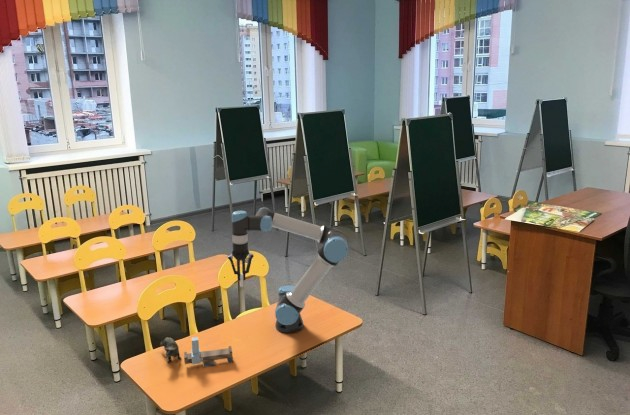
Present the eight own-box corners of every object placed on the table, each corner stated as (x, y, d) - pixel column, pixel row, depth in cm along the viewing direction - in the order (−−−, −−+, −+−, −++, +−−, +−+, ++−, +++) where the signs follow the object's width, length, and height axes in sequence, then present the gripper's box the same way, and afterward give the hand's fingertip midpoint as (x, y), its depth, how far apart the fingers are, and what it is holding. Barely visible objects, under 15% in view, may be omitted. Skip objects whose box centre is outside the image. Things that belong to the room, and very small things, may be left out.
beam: (231, 357, 243) (231, 345, 241) (233, 363, 238) (232, 351, 236) (184, 364, 237) (184, 351, 235) (185, 370, 232) (184, 357, 231)
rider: (200, 354, 239) (198, 334, 236) (200, 363, 232) (199, 342, 229) (191, 355, 238) (190, 335, 235) (192, 364, 231) (190, 343, 228)
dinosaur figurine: (160, 348, 250) (158, 328, 248) (177, 345, 254) (175, 325, 251) (165, 371, 231) (164, 349, 228) (184, 367, 234) (182, 346, 231)
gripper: (252, 238, 253) (253, 281, 259) (226, 240, 249) (227, 284, 255) (254, 243, 246) (255, 287, 252) (227, 245, 242) (229, 290, 248)
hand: (241, 286), depth 253 cm, fingers closed
